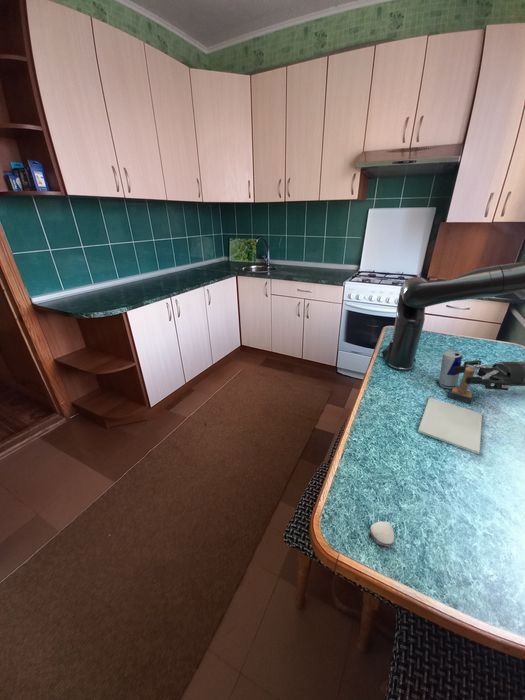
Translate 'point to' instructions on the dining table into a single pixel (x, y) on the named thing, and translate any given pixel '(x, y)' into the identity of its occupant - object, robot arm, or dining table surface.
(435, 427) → the white tile
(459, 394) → the scrub brush
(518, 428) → the dining table surface
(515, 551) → the dining table surface
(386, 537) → the beige rounded stone
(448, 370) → the energy drink
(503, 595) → the dining table surface
